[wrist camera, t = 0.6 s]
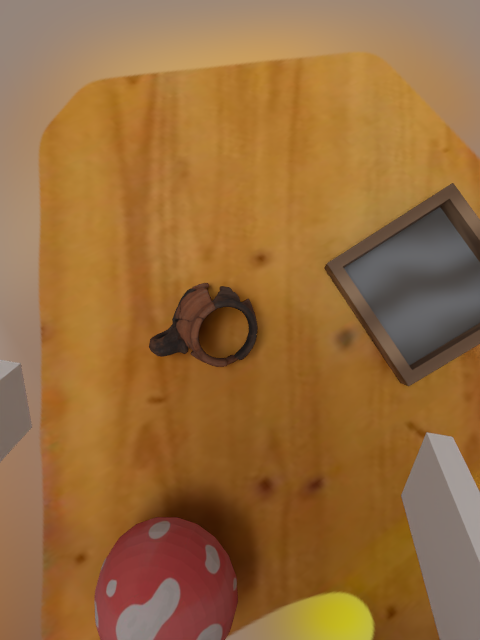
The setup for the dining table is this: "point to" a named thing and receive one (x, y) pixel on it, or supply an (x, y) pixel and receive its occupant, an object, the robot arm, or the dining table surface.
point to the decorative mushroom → (166, 584)
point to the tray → (417, 285)
